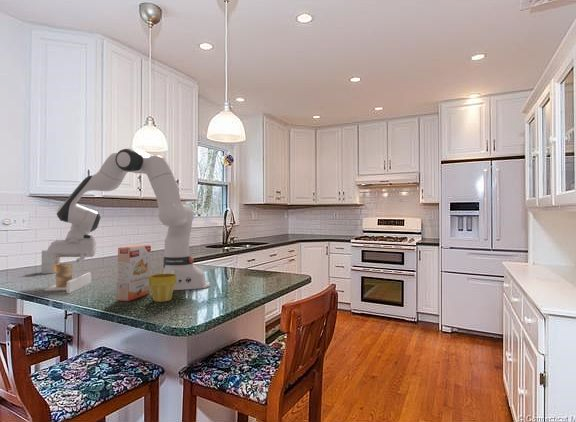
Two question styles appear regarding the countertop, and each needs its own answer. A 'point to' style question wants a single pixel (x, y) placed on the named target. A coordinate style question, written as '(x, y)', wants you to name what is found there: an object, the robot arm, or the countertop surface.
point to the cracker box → (133, 272)
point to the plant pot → (162, 286)
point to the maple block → (63, 274)
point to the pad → (55, 288)
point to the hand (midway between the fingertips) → (66, 263)
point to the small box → (48, 263)
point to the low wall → (78, 282)
